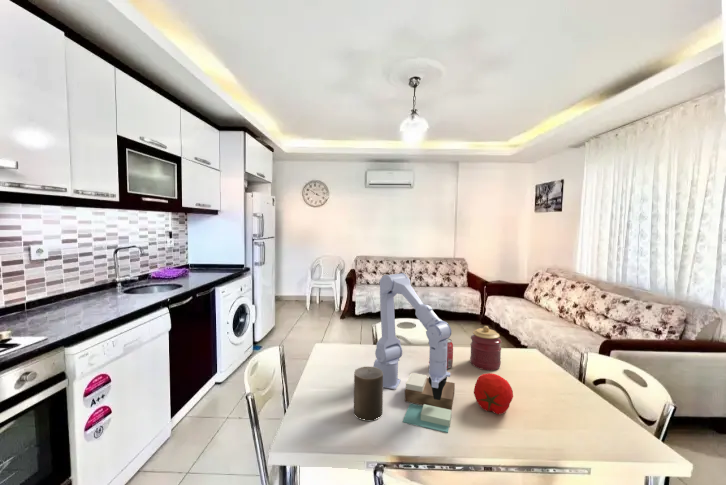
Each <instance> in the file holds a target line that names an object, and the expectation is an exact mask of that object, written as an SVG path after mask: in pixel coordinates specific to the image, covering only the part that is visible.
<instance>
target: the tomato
mask: <svg viewBox="0 0 726 485" xmlns="http://www.w3.org/2000/svg"><path fill="white" fill-rule="evenodd" d="M473 395H474V397H475V402H476V403H477V404H478V405H479V407H481V409H482V410H484V411H485V412H493V413H495V414H497V415H502V414H505V413H506V412H507V411H508V410H509V408H510V404H511V403H512V401H513V398H514V393H513V388H512V386H511V384H510V383H509V382H508V381H507V380H506V379H505V378H504V377H502V376H500V375H499V374H496V373H492V372H491V373H490V372H489V373H482V374H481V375H479V376H478V377H477V379H476V382H475V384H474V389H473Z"/></svg>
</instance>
